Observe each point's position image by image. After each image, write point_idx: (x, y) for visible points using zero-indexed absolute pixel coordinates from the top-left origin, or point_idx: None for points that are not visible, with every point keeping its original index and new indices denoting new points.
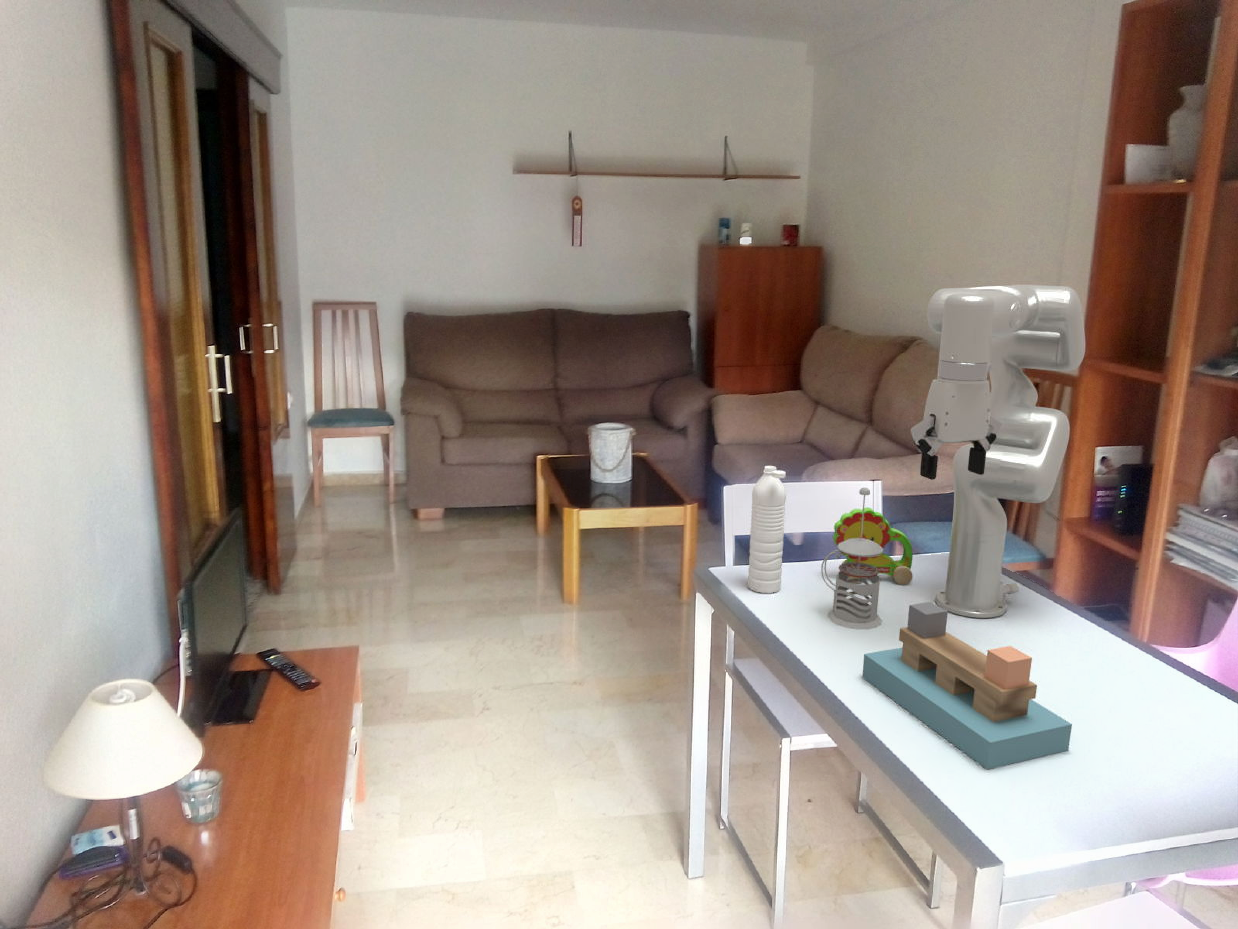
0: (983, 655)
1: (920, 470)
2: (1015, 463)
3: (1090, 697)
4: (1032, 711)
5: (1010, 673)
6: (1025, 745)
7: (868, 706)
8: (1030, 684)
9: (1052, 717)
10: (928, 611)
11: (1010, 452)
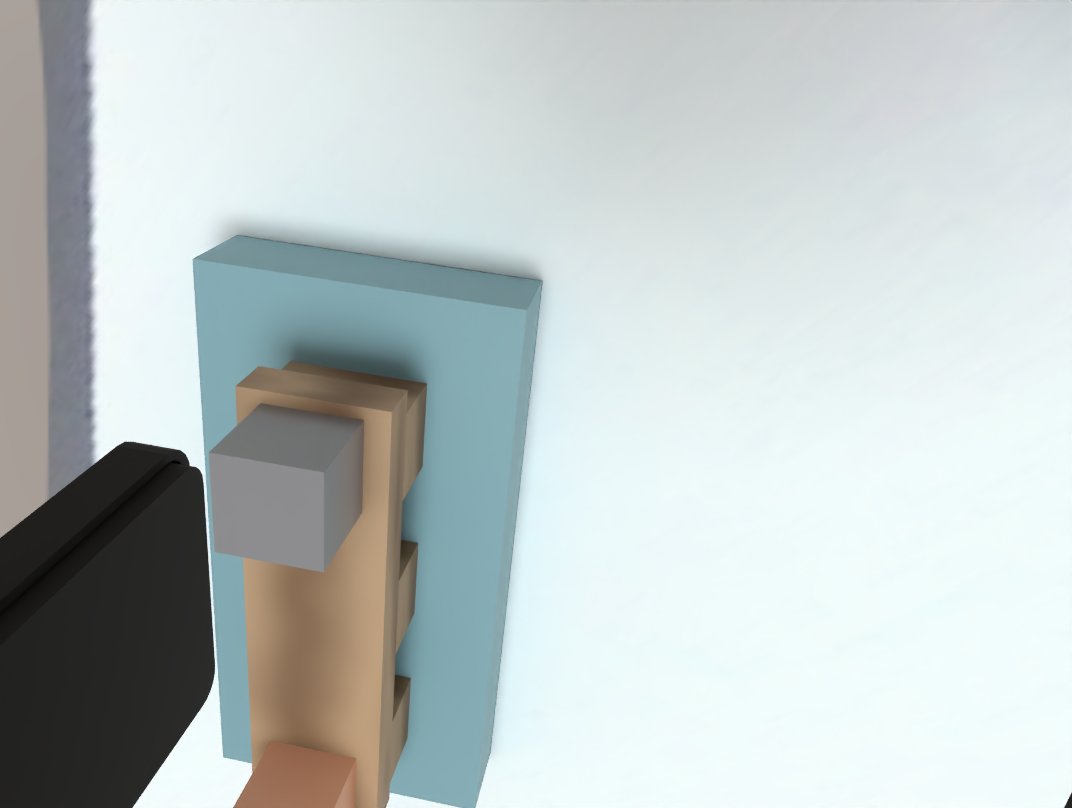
0: (372, 667)
1: (89, 469)
2: None
3: (807, 658)
4: (433, 736)
5: None
6: None
7: (154, 385)
8: None
9: (456, 774)
10: (243, 536)
11: None
